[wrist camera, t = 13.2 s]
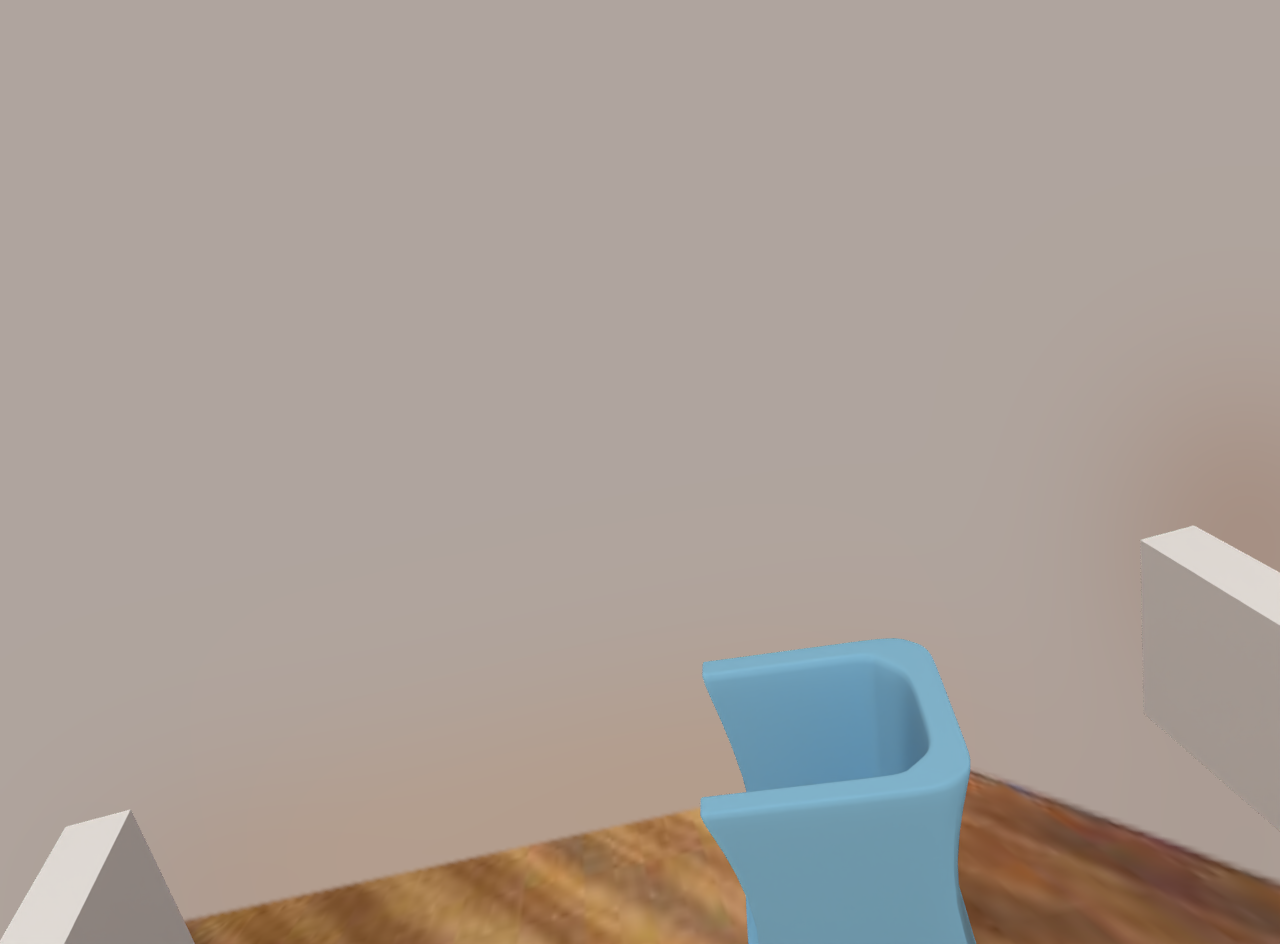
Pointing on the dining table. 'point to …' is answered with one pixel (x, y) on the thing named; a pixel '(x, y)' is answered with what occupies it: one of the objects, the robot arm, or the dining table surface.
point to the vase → (843, 794)
